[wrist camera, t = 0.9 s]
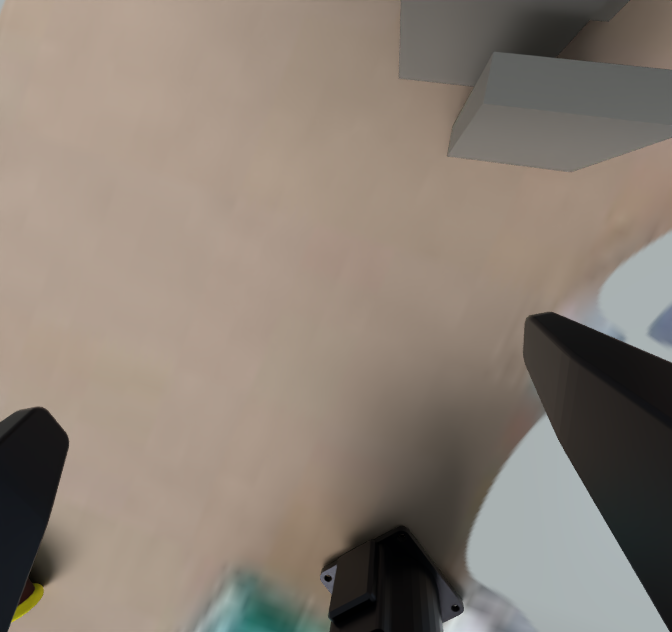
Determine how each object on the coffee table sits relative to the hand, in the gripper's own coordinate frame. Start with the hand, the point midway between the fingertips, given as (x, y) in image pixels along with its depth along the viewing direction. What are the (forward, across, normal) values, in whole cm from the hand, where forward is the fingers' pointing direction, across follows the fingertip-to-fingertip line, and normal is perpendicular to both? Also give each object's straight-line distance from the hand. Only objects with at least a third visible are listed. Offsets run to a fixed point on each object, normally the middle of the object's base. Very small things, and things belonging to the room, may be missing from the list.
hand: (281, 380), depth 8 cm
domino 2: (+16, -10, +1) cm, 19 cm away
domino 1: (+17, -9, -2) cm, 20 cm away
